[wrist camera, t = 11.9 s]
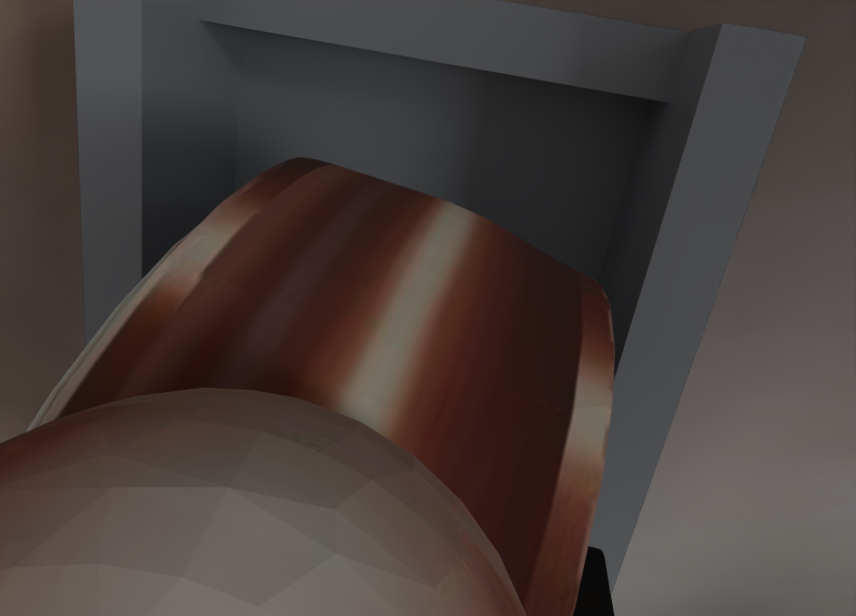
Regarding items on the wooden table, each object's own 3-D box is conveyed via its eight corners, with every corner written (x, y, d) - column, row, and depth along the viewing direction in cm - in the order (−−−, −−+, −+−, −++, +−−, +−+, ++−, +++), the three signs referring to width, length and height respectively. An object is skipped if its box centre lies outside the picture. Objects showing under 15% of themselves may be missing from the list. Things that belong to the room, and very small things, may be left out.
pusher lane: (725, 53, 14) (828, 40, 9) (469, 876, 25) (456, 1062, 20) (202, -36, 15) (52, -89, 10) (176, 796, 25) (98, 956, 21)
